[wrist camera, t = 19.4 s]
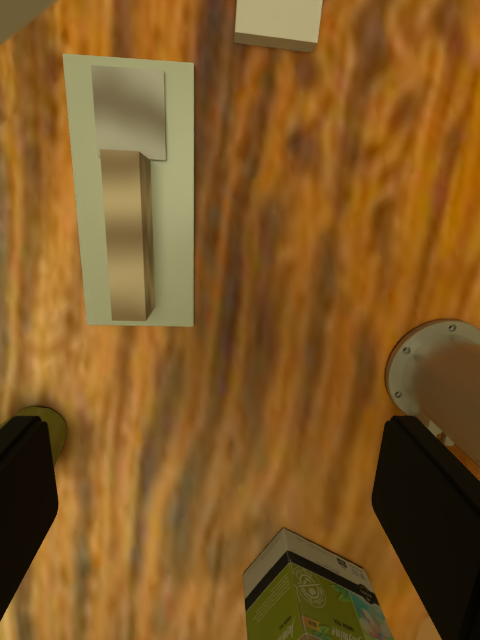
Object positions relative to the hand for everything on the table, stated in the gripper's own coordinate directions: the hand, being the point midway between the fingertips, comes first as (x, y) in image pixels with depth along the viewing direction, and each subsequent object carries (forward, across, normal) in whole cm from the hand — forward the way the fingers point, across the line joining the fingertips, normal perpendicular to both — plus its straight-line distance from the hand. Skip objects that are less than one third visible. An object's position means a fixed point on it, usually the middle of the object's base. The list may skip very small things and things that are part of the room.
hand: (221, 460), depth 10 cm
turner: (+27, +8, -8) cm, 30 cm away
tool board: (+28, +8, -7) cm, 30 cm away
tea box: (+29, -13, +41) cm, 52 cm away
